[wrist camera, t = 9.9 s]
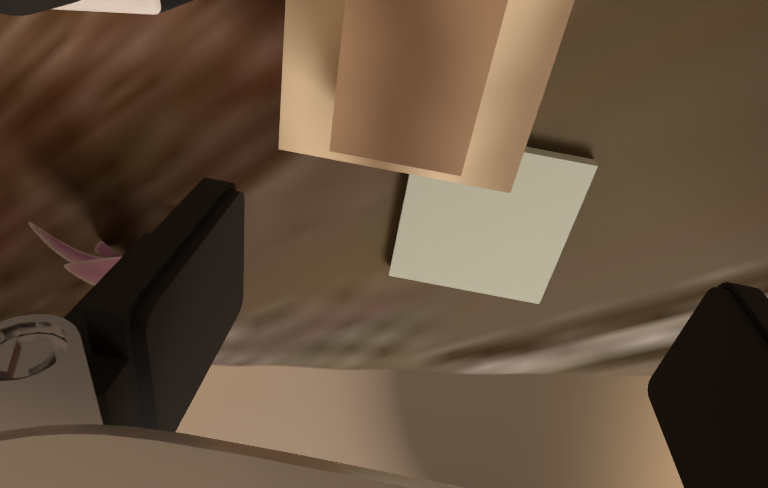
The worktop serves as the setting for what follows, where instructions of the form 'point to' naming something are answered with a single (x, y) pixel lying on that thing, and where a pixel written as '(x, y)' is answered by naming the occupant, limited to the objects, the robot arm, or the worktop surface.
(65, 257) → the lily
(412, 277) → the mat
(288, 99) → the lid
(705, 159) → the worktop surface
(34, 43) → the worktop surface
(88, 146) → the worktop surface
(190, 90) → the worktop surface
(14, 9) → the medicine bottle
